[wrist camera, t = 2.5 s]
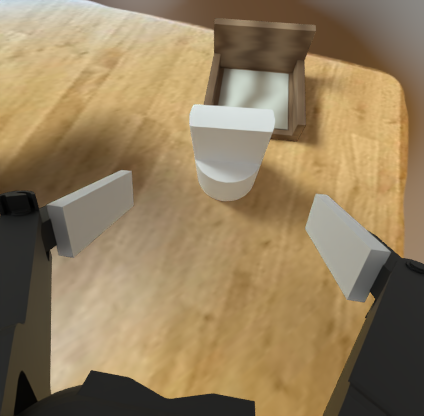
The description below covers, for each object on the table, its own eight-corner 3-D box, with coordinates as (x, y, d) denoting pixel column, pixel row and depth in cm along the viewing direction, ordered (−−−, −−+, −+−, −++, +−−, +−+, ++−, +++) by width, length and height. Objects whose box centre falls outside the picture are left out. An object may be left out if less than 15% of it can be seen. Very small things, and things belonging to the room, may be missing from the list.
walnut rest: (202, 131, 36) (199, 89, 29) (215, 67, 42) (215, 18, 34) (296, 141, 36) (319, 100, 28) (296, 74, 41) (315, 25, 33)
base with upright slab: (194, 198, 32) (183, 149, 21) (201, 149, 35) (195, 84, 24) (253, 203, 32) (275, 157, 20) (255, 153, 35) (275, 89, 24)
